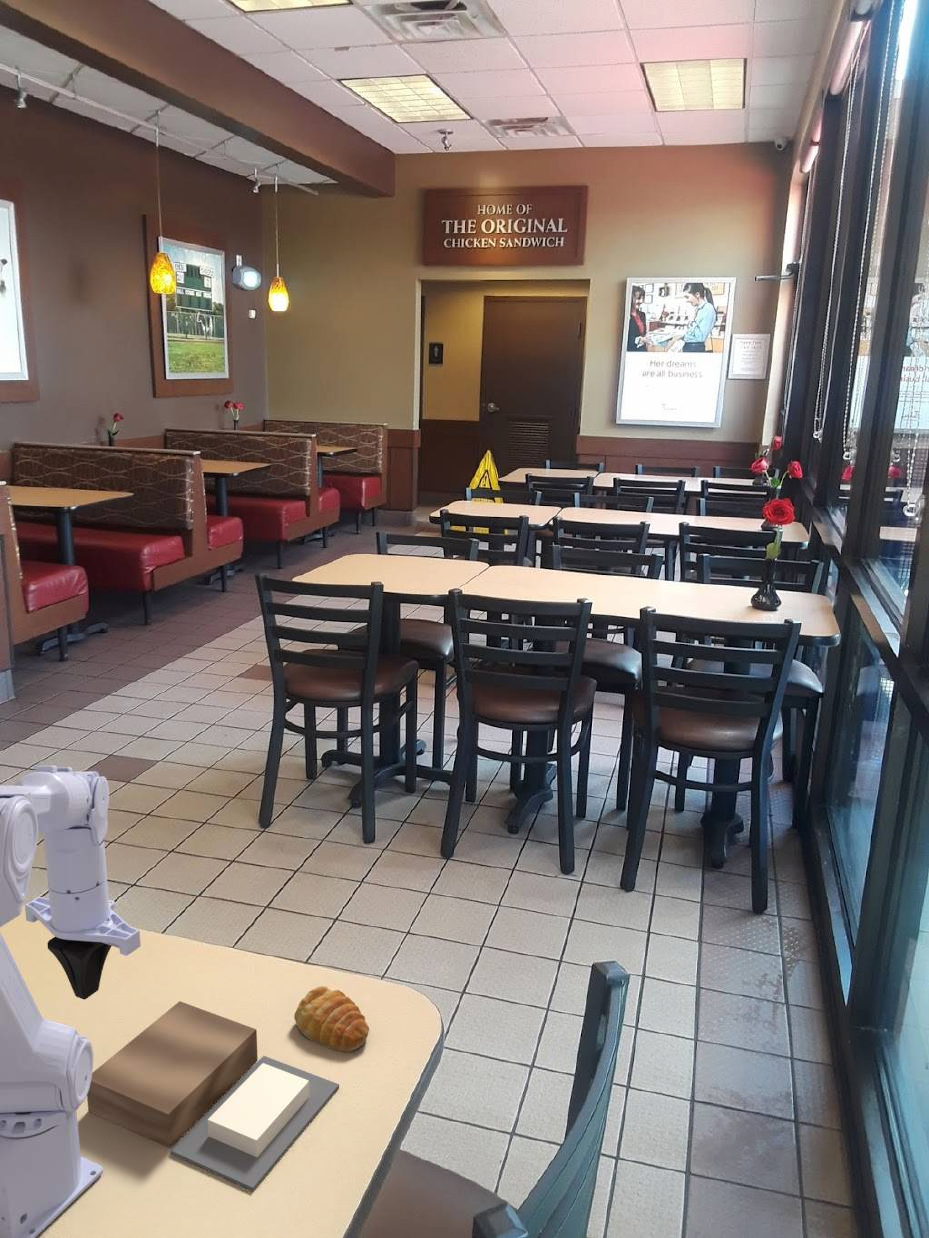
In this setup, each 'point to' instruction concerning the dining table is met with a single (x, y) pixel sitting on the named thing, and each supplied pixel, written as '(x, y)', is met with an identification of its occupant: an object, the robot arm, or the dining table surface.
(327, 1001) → the pastry
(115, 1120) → the brown wooden block
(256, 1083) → the block
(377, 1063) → the dining table surface
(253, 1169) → the mat
